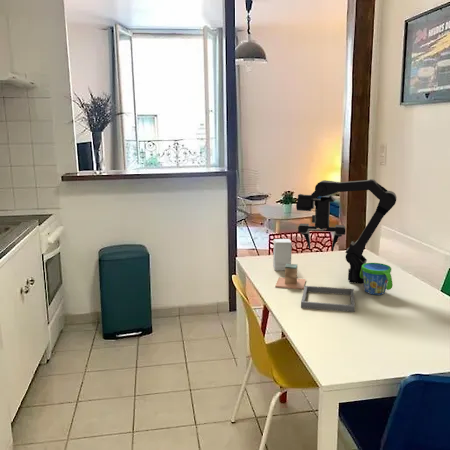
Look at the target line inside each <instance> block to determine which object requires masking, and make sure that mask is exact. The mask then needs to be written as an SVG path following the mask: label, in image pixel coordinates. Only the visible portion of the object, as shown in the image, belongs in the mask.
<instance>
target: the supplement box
mask: <svg viewBox="0 0 450 450" xmlns="http://www.w3.org/2000/svg"><path fill="white" fill-rule="evenodd" d="M292 247H293V246H292V241H291V239H290V238H274V239H273V255H272V256H273V260H272V263H273V265H272V266H273V269H274V271H285V266H286V264H292Z"/></svg>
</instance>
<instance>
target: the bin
mask: <svg viewBox="0 0 450 450" xmlns="http://www.w3.org/2000/svg"><path fill="white" fill-rule="evenodd" d="M318 292H320V293H321V294H332V293H334V294H335V295H348V296H350V304H345V303H330V302H318V301H317V302H316V301H306V298H307V295H308V293H318ZM320 293H319V294H320ZM355 304H356V303H355V291H354V288H345V287H344V288H343V287H342V288H341V287H330V286H329V287H327V286H315V285H305V286H304V289H303V292H302V297H301V301H300V308H302V309H303V308H304V309H314V310H325V311H326V310H327V311H338V312H339V311H341V312H354V313H355V309H356V308H355V307H356V306H355Z"/></svg>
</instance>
